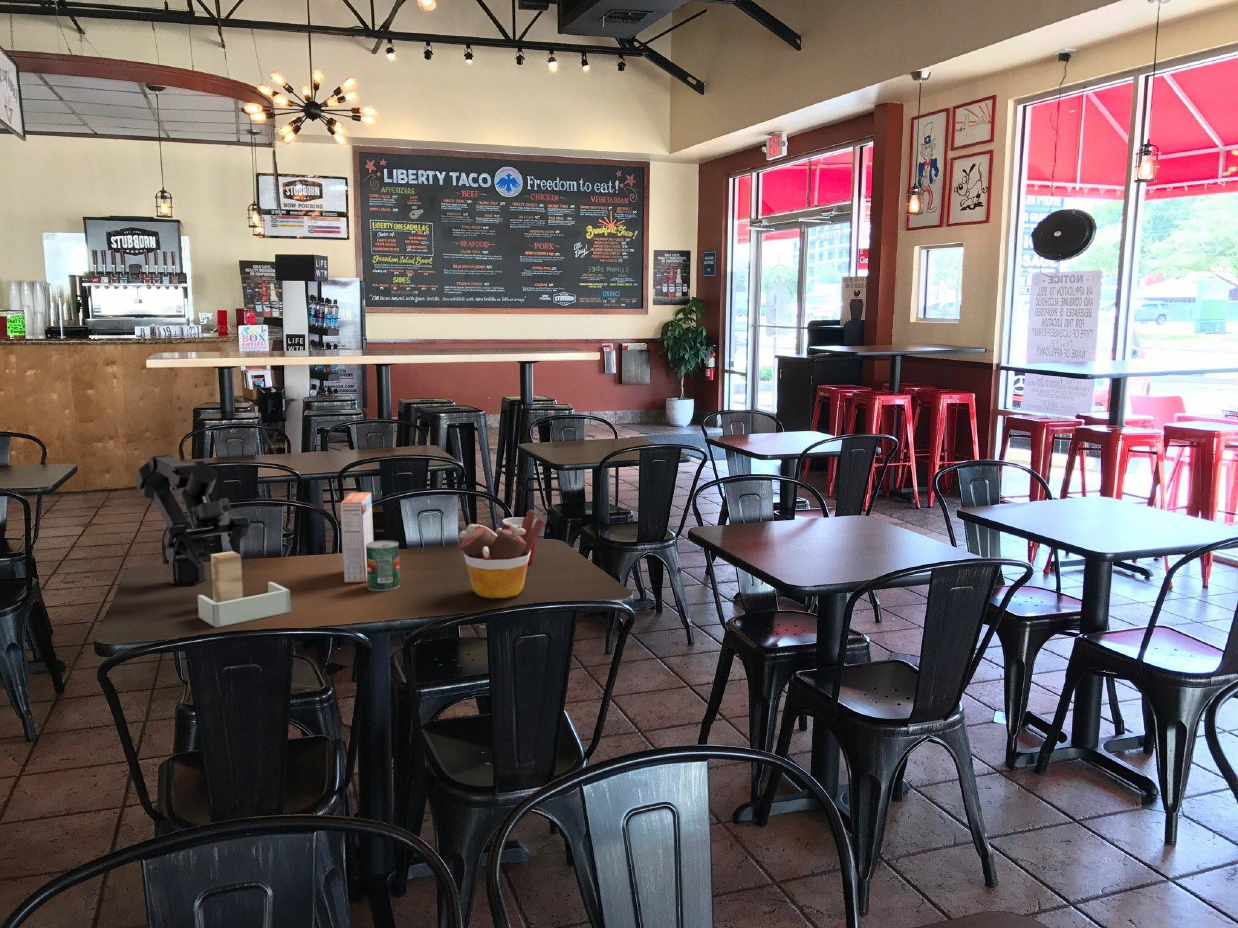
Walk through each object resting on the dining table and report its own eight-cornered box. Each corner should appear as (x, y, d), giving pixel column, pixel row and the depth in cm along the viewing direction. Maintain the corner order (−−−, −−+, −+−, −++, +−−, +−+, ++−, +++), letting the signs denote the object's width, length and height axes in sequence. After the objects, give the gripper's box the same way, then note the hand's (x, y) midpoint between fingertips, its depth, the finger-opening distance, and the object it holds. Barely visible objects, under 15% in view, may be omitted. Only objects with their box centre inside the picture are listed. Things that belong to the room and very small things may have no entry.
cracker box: (352, 569, 259) (349, 491, 255) (375, 568, 259) (372, 491, 256) (341, 583, 245) (338, 501, 242) (366, 583, 245) (363, 501, 242)
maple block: (213, 604, 226) (210, 554, 225) (234, 600, 230) (232, 551, 228) (221, 609, 223) (218, 558, 221) (243, 605, 226) (240, 554, 224)
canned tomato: (361, 587, 242) (359, 543, 240) (388, 580, 247) (386, 538, 246) (379, 593, 236) (377, 549, 235) (406, 586, 242) (405, 543, 240)
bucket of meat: (472, 607, 225) (470, 523, 222) (450, 589, 240) (448, 510, 237) (551, 596, 234) (551, 515, 231) (525, 579, 249) (525, 503, 246)
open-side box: (198, 617, 217) (197, 595, 216) (273, 602, 228) (272, 581, 228) (215, 627, 210) (214, 605, 209) (291, 611, 221) (290, 590, 220)
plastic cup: (540, 568, 260) (540, 524, 258) (500, 568, 260) (499, 524, 259) (544, 558, 271) (544, 516, 269) (505, 558, 271) (505, 515, 269)
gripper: (164, 492, 223) (184, 548, 217) (245, 483, 236) (266, 535, 229) (155, 520, 230) (174, 575, 224) (234, 510, 243) (254, 561, 236)
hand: (218, 561), depth 228 cm, fingers open, 9 cm apart
